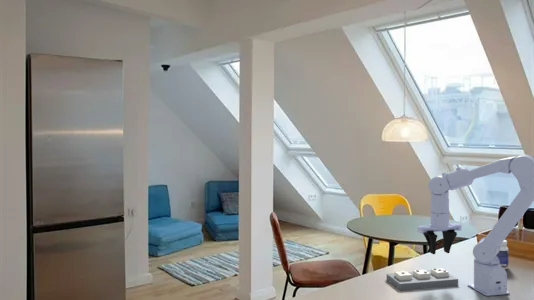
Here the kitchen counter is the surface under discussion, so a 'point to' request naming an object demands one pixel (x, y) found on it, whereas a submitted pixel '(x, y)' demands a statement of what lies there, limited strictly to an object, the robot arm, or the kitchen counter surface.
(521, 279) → the kitchen counter surface
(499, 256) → the pill bottle
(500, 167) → the robot arm
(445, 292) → the kitchen counter surface
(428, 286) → the button board
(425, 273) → the tile two
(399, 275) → the tile one
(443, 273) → the tile three
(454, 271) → the kitchen counter surface
